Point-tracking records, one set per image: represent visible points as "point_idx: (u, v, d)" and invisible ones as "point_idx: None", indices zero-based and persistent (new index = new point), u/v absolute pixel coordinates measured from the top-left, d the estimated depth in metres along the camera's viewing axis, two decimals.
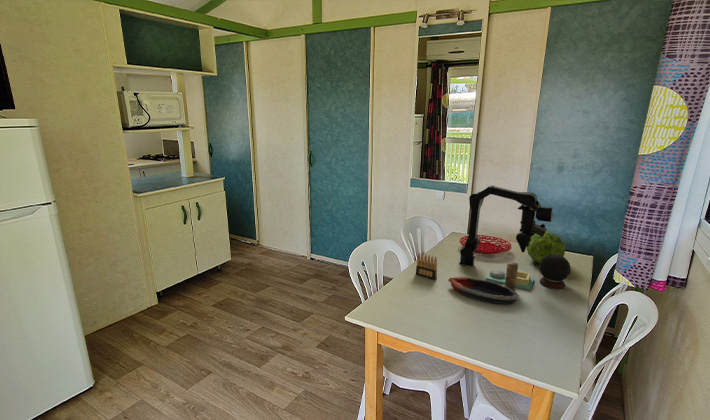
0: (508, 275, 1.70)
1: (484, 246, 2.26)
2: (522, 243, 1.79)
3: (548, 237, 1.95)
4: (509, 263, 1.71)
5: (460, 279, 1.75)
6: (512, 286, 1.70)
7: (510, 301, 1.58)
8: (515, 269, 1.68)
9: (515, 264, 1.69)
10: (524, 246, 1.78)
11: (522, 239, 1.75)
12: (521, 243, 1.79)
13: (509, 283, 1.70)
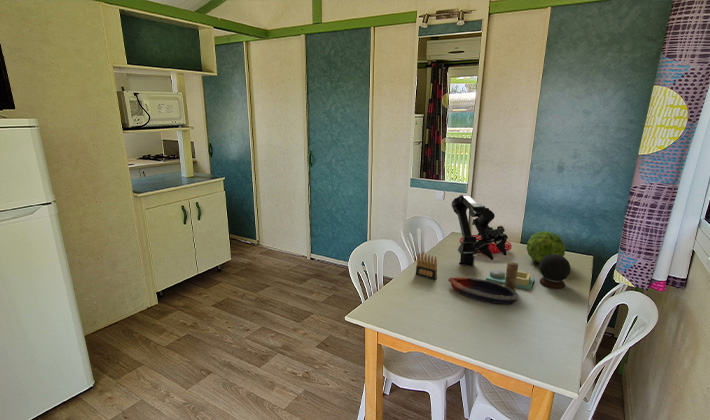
0: (508, 275, 1.70)
1: None
2: (485, 251, 1.76)
3: (548, 237, 1.95)
4: (509, 263, 1.70)
5: (460, 279, 1.75)
6: (512, 286, 1.70)
7: (510, 301, 1.58)
8: (515, 269, 1.68)
9: (515, 264, 1.69)
10: (488, 252, 1.75)
11: (477, 246, 1.76)
12: (484, 251, 1.77)
13: (509, 283, 1.70)
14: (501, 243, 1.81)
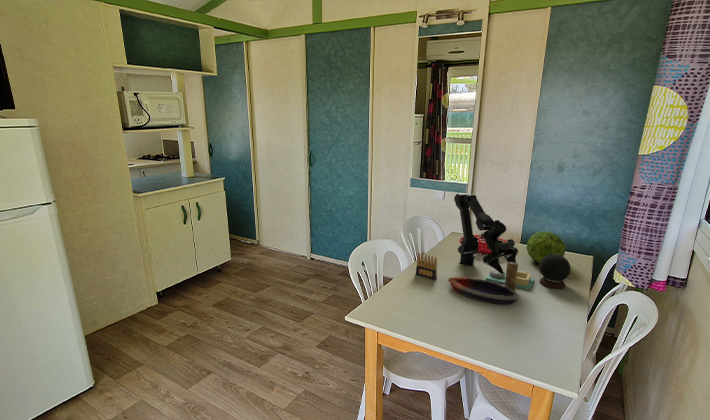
0: (508, 275, 1.70)
1: (484, 246, 2.26)
2: (495, 265, 1.72)
3: (548, 237, 1.95)
4: (509, 263, 1.70)
5: (460, 279, 1.75)
6: (512, 286, 1.70)
7: (510, 301, 1.58)
8: (515, 269, 1.68)
9: (515, 264, 1.69)
10: (498, 266, 1.70)
11: (486, 259, 1.71)
12: (494, 265, 1.72)
13: (509, 283, 1.70)
14: (511, 257, 1.76)
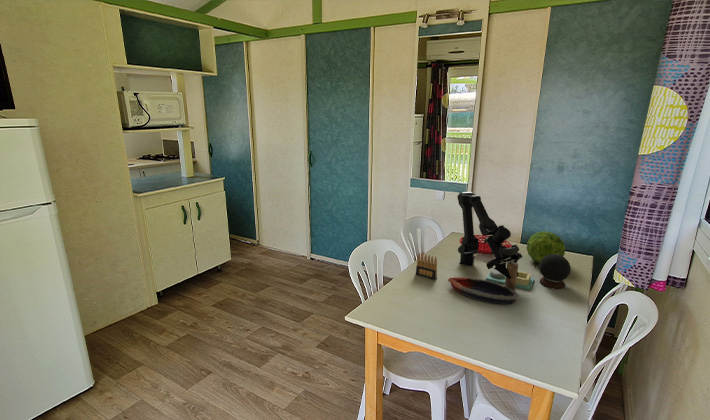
0: None
1: (484, 246, 2.26)
2: (502, 270, 1.71)
3: (548, 237, 1.95)
4: (509, 263, 1.71)
5: (460, 279, 1.75)
6: (512, 286, 1.70)
7: (510, 301, 1.58)
8: (515, 269, 1.68)
9: (515, 264, 1.69)
10: (505, 271, 1.70)
11: (490, 265, 1.69)
12: (501, 270, 1.71)
13: (509, 283, 1.70)
14: None
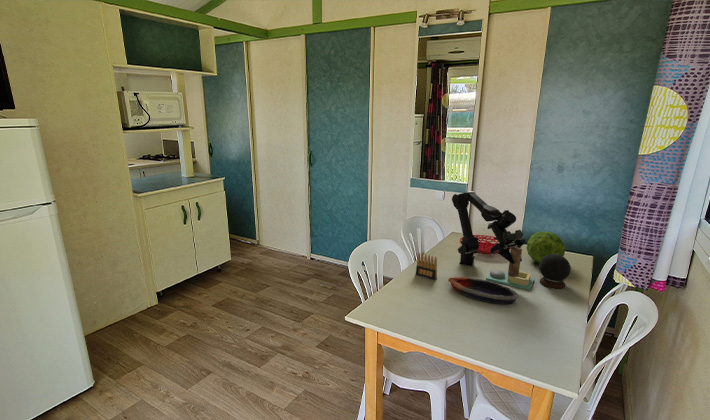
0: None
1: (484, 246, 2.26)
2: (505, 254, 1.72)
3: (548, 237, 1.95)
4: (513, 248, 1.71)
5: (460, 279, 1.75)
6: (516, 270, 1.71)
7: (510, 301, 1.58)
8: (519, 254, 1.69)
9: (519, 249, 1.70)
10: (509, 256, 1.70)
11: (494, 250, 1.70)
12: (505, 255, 1.72)
13: (513, 268, 1.71)
14: None
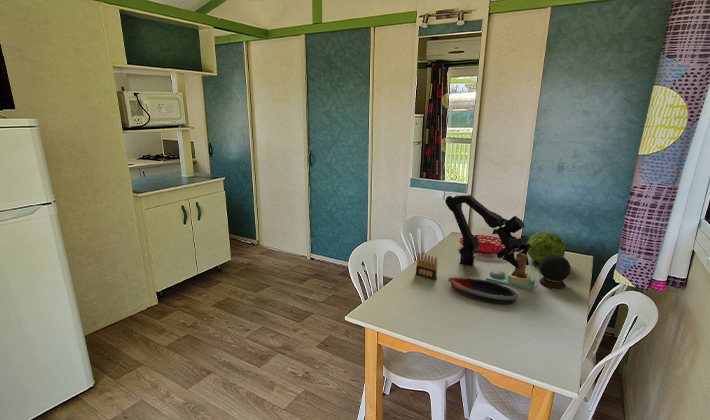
0: None
1: (484, 246, 2.26)
2: (510, 259, 1.78)
3: (548, 237, 1.95)
4: (518, 254, 1.78)
5: (460, 279, 1.75)
6: (521, 276, 1.78)
7: (510, 301, 1.58)
8: (524, 260, 1.76)
9: (524, 255, 1.77)
10: (513, 261, 1.77)
11: (501, 255, 1.77)
12: (509, 260, 1.78)
13: (518, 273, 1.78)
14: (523, 253, 1.81)
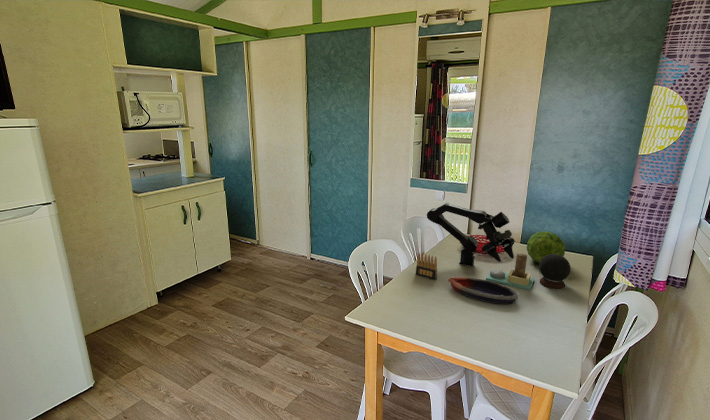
0: (517, 266, 1.78)
1: None
2: (493, 253, 1.85)
3: (548, 237, 1.95)
4: (518, 254, 1.78)
5: (460, 279, 1.75)
6: (521, 276, 1.78)
7: (510, 301, 1.58)
8: (524, 260, 1.76)
9: (524, 255, 1.77)
10: (495, 255, 1.84)
11: (485, 248, 1.85)
12: (492, 254, 1.86)
13: (518, 273, 1.78)
14: (508, 246, 1.90)
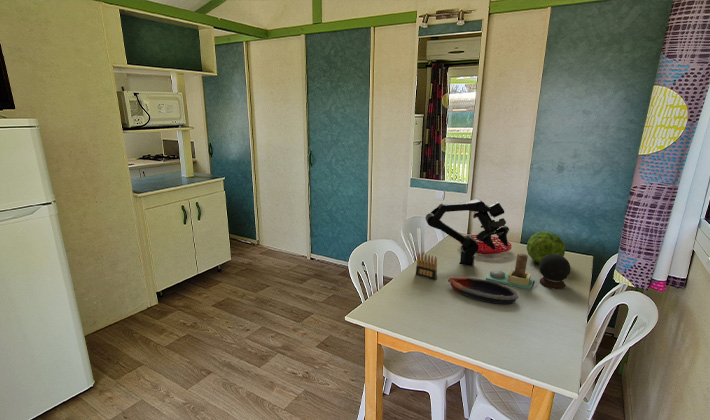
0: (518, 266, 1.78)
1: (484, 246, 2.26)
2: (487, 241, 1.88)
3: (548, 237, 1.95)
4: (519, 254, 1.78)
5: (460, 279, 1.75)
6: (521, 276, 1.78)
7: (510, 301, 1.59)
8: (524, 260, 1.76)
9: (524, 255, 1.77)
10: (490, 243, 1.87)
11: (480, 236, 1.87)
12: (487, 242, 1.88)
13: (518, 273, 1.78)
14: (503, 235, 1.93)
